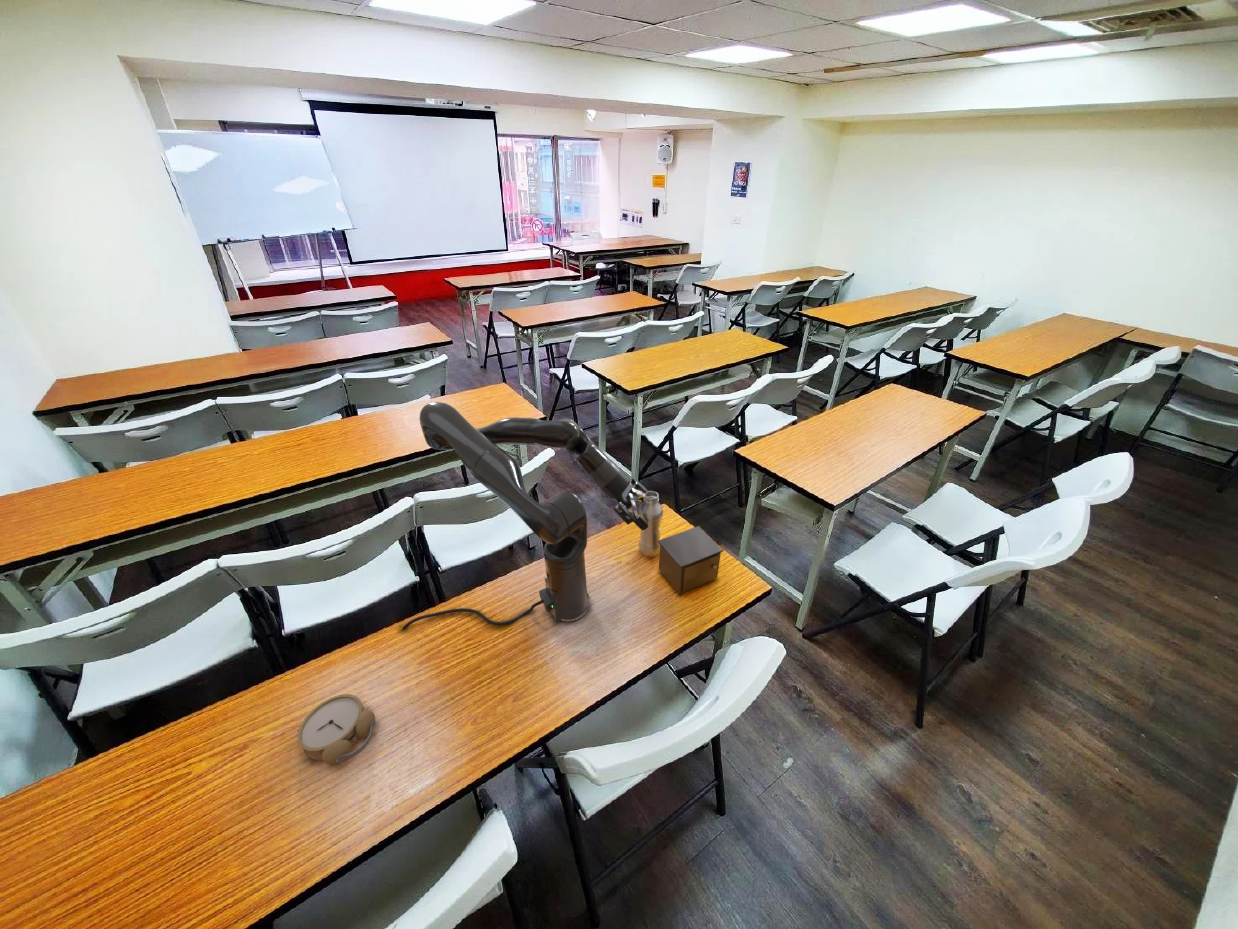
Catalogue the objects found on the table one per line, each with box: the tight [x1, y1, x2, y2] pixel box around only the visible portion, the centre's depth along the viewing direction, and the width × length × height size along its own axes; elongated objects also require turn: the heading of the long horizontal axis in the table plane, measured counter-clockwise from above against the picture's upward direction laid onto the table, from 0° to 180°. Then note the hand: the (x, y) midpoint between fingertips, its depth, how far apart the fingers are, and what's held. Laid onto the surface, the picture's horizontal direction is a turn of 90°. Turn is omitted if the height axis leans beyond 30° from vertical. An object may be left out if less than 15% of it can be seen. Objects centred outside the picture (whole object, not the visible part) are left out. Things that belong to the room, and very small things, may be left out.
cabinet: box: [658, 525, 724, 596], centre depth 122 cm, size 13×12×11 cm
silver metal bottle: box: [637, 490, 664, 558], centre depth 129 cm, size 6×7×20 cm
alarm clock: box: [296, 693, 377, 766], centre depth 90 cm, size 11×5×15 cm
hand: (649, 518), depth 128 cm, fingers open, 8 cm apart
